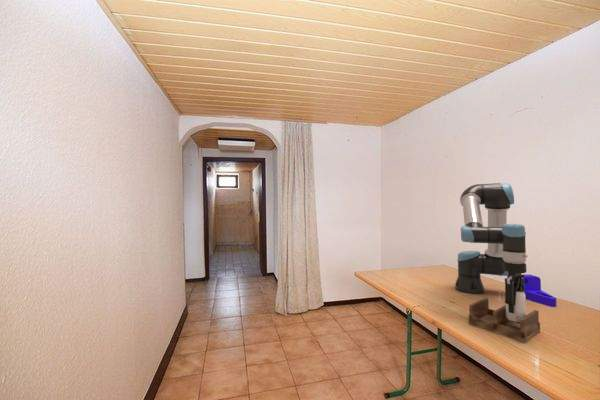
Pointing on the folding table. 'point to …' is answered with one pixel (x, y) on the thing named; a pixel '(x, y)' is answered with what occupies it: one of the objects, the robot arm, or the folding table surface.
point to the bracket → (537, 291)
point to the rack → (503, 321)
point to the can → (519, 305)
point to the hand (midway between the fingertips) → (515, 318)
